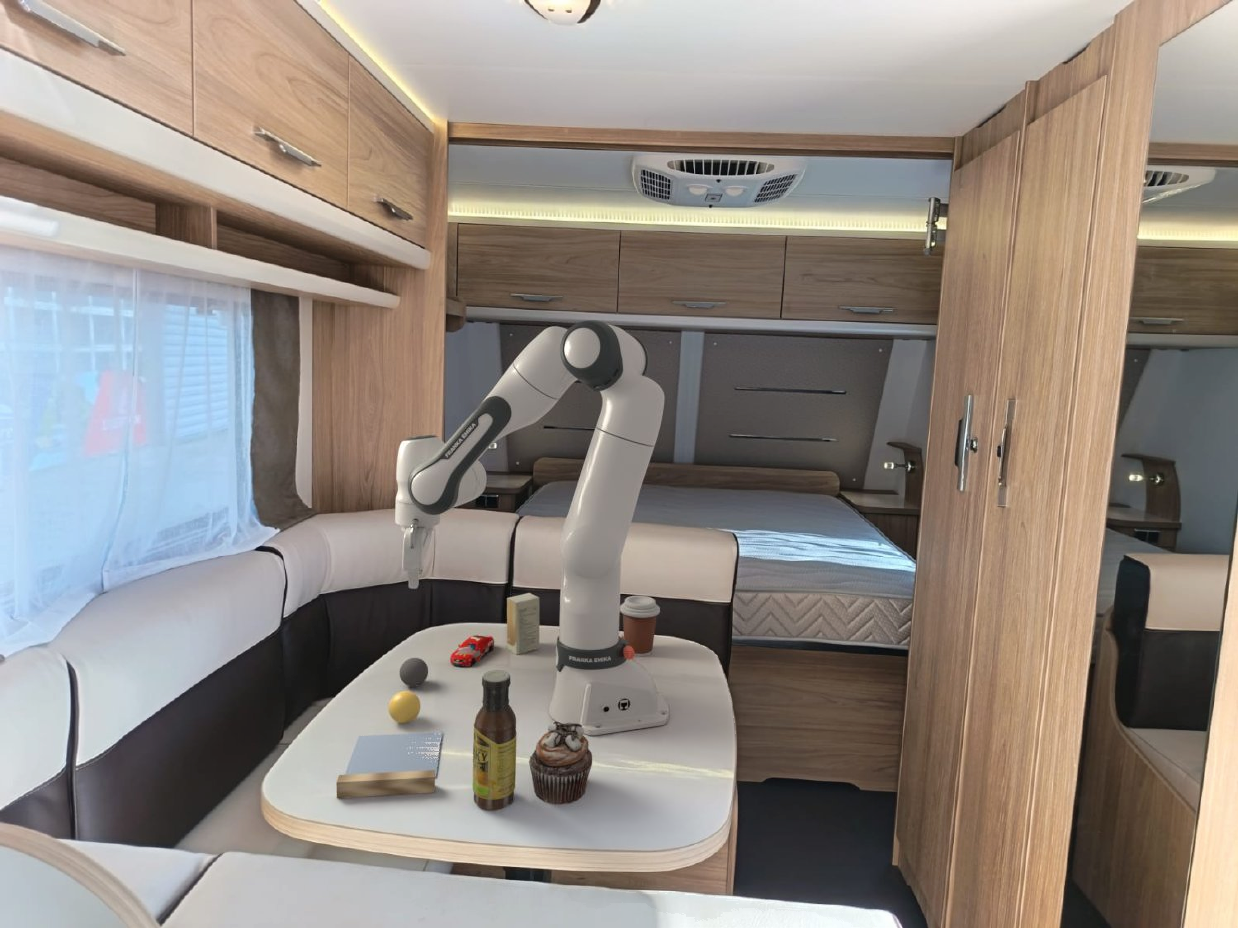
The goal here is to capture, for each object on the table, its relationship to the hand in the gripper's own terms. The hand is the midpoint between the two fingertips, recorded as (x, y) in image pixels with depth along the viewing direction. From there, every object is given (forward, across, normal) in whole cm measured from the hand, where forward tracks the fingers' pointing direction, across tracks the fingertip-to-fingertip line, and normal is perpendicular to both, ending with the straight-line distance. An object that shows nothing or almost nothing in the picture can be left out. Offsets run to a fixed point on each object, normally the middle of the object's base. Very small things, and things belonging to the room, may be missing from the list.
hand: (415, 580), depth 154 cm
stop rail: (+19, -44, -1) cm, 48 cm away
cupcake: (+18, -47, -27) cm, 57 cm away
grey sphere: (+16, -8, -1) cm, 18 cm away
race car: (+20, +6, -12) cm, 24 cm away
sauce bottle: (+19, -49, -17) cm, 55 cm away
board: (+19, -34, -1) cm, 39 cm away
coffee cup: (+18, +6, -49) cm, 53 cm away
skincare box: (+19, +9, -23) cm, 31 cm away
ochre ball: (+16, -22, -1) cm, 28 cm away
